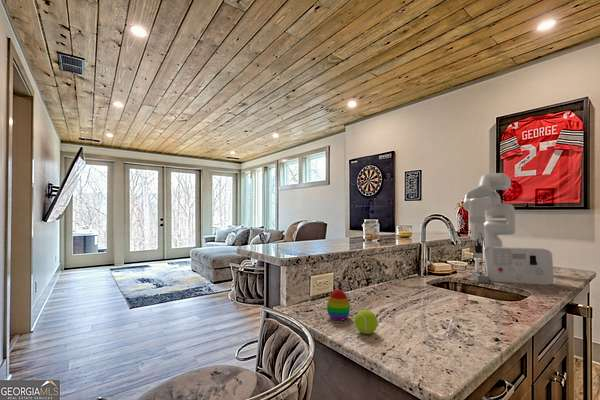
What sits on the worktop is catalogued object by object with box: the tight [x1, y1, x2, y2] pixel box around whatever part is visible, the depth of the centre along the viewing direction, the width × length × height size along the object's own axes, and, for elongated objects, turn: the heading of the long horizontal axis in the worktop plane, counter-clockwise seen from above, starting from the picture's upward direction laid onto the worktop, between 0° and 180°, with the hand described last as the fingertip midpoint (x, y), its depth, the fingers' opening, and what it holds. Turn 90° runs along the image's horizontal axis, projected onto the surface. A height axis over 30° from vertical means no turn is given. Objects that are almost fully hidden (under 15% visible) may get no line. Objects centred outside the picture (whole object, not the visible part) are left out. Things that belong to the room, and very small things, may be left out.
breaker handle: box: [473, 257, 481, 274], centre depth 162 cm, size 3×2×9 cm
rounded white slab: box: [483, 246, 554, 286], centre depth 151 cm, size 29×8×18 cm, turn 69°
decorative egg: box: [326, 288, 351, 321], centre depth 103 cm, size 8×8×10 cm
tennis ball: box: [354, 309, 378, 335], centre depth 90 cm, size 7×7×7 cm
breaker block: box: [471, 269, 490, 284], centre depth 158 cm, size 15×5×4 cm, turn 160°
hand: (478, 252), depth 160 cm, fingers closed
